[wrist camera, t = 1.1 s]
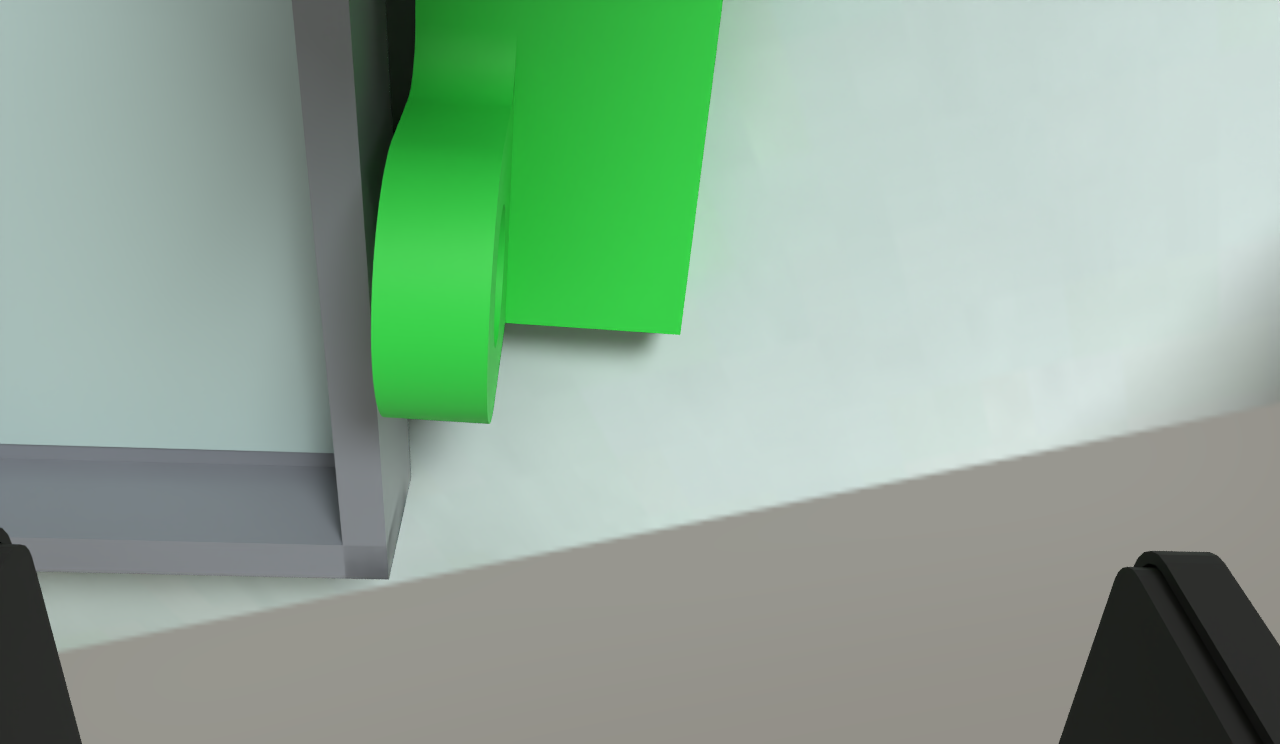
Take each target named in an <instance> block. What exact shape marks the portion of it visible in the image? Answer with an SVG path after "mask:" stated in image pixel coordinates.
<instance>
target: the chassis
mask: <svg viewBox="0 0 1280 744" xmlns="http://www.w3.org/2000/svg"><path fill="white" fill-rule="evenodd" d="M392 138H393V131H392V113H391V94H390V76H389V57H388V38H387V20H386V1H385V0H0V528H3V529H4V531H5V532H6V533H7V534H8V535H9V538H10V540H11V543H12V544H21V545H25V546H26V547H27V548H28V549H29V550H30V553H31V555H32V558H33V562H34V566H35V569H36V571H44V572H88V573H131V574H175V575H219V576H263V577H307V578H351V579H389V576H390V572H391V567H392V563H393V558H394V553H395V549H396V544H397V540H398V535H399V530H400V526H401V521H402V517H403V512H404V507H405V503H406V498H407V494H408V489H409V484H410V480H411V466H410V448H409V429H408V419H404V418H387V417H382V416H381V414H380V413H379V410H378V407H377V403H376V398H375V392H374V384H373V373H372V355H371V302H372V278H373V261H374V248H375V236H376V226H377V216H378V208H379V200H380V193H381V186H382V180H383V174H384V169H385V164H386V160H387V155H388V151H389V148H390V144H391V141H392Z"/></svg>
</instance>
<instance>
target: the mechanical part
mask: <svg viewBox="0 0 1280 744" xmlns="http://www.w3.org/2000/svg"><path fill="white" fill-rule="evenodd" d="M722 3H723V0H415V52H414V66H413V75H412V83H411V89H410V94H409V98H408V100H407V103H406V106H405V108H404V111H403V113H402V116H401V118H400V121H399V123H398V126H397V128H396V131H395V133H394V136H393V138H392V141H391V144H390V148H389V151H388V155H387V160H386V164H385V169H384V174H383V180H382V186H381V193H380V200H379V208H378V216H377V226H376V236H375V248H374V261H373V278H372V302H371V355H372V373H373V384H374V392H375V398H376V403H377V407H378V410H379V413H380V414H381V416H382V417H387V418H404V419H420V420H436V421H452V422H469V423H485V424H490V422H491V419H492V414H493V408H494V402H495V394H496V387H497V379H498V372H499V365H500V357H501V350H502V342H503V335H504V328H505V323H514V324H529V325H544V326H558V327H573V328H588V329H603V330H618V331H632V332H647V333H662V334H677V335H680V332H681V324H682V316H683V308H684V301H685V293H686V285H687V277H688V269H689V261H690V253H691V246H692V238H693V230H694V222H695V214H696V206H697V199H698V191H699V183H700V175H701V167H702V159H703V152H704V144H705V136H706V128H707V120H708V112H709V105H710V97H711V89H712V81H713V73H714V65H715V58H716V50H717V42H718V34H719V26H720V18H721V11H722Z"/></svg>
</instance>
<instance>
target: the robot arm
mask: <svg viewBox="0 0 1280 744" xmlns="http://www.w3.org/2000/svg"><path fill="white" fill-rule="evenodd" d="M0 744H82V743H81V739H80V735H79V731H78V727H77V724H76V720H75V716H74V712H73V709H72V705H71V701H70V698H69V693H68V690H67V686H66V682H65V678H64V675H63V671H62V667H61V663H60V660H59V656H58V652H57V648H56V645H55V641H54V637H53V633H52V630H51V626H50V622H49V618H48V614H47V611H46V607H45V603H44V599H43V596H42V592H41V588H40V584H39V581H38V577H37V573H36V569H35V566H34V562H33V558H32V555H31V553H30V550H29V549H28V548H27V547H26V546H25V545H21V544H12V543H11V540H10V538H9V535H8V534H7V533H6V532H5V531H4V529H3V528H0ZM1059 744H1280V646H1279V644H1278V643H1277V641H1276V640H1275V638H1274V637H1273V635H1272V634H1271V632H1270V631H1269V629H1268V628H1267V626H1266V625H1265V623H1264V622H1263V620H1262V619H1261V617H1260V616H1259V614H1258V613H1257V611H1256V610H1255V608H1254V607H1253V605H1252V604H1251V602H1250V601H1249V599H1248V598H1247V596H1246V595H1245V593H1244V592H1243V590H1242V589H1241V587H1240V586H1239V584H1238V583H1237V581H1236V580H1235V578H1234V577H1233V576H1232V574H1231V572H1230V571H1229V569H1228V568H1227V566H1226V565H1225V563H1224V562H1223V561H1222V560H1221V559H1220V558H1219V557H1218V556H1217V555H1215V554H1212V553H1210V552H1173V551H1149V552H1144V553H1143V554H1142V555H1141V556H1140V557H1139V558H1138V559H1137V561H1136V563H1135V565H1134V567H1125V568H1122V569H1121V570H1120V571H1119V572H1118V574H1117V576H1116V578H1115V581H1114V583H1113V586H1112V589H1111V592H1110V595H1109V598H1108V601H1107V604H1106V607H1105V610H1104V613H1103V615H1102V618H1101V622H1100V624H1099V628H1098V630H1097V633H1096V636H1095V639H1094V642H1093V645H1092V648H1091V651H1090V654H1089V656H1088V660H1087V662H1086V665H1085V668H1084V671H1083V674H1082V677H1081V680H1080V683H1079V686H1078V689H1077V692H1076V695H1075V698H1074V700H1073V704H1072V706H1071V709H1070V712H1069V715H1068V718H1067V721H1066V724H1065V727H1064V730H1063V733H1062V736H1061V738H1060V741H1059Z"/></svg>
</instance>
